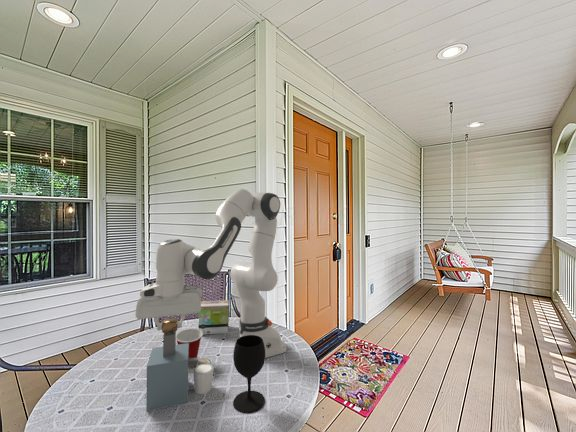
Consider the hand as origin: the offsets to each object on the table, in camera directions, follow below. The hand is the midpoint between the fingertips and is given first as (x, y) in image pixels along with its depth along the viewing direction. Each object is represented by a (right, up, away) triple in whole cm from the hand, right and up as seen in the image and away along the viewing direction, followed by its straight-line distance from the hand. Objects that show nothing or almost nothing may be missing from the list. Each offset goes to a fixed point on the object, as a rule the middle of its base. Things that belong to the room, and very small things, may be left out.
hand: (169, 328), depth 90 cm
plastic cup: (-1, -23, +20) cm, 30 cm away
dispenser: (+1, -23, 0) cm, 23 cm away
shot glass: (+10, -23, +4) cm, 25 cm away
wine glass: (+27, -23, -3) cm, 36 cm away
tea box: (+1, -23, +51) cm, 56 cm away
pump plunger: (0, -8, 0) cm, 8 cm away
